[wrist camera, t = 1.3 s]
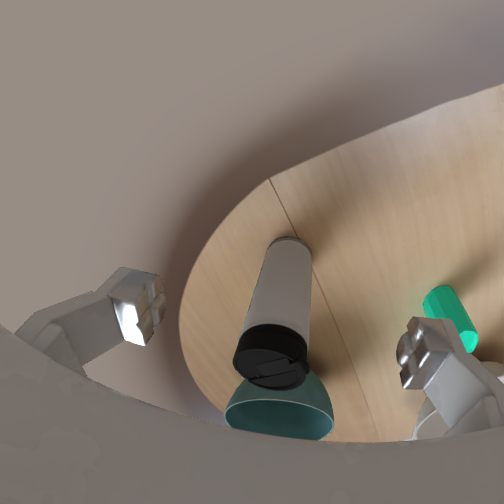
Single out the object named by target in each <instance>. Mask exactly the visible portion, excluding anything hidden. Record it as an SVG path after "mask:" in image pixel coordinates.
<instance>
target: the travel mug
mask: <svg viewBox="0 0 504 504" xmlns="http://www.w3.org/2000/svg"><path fill="white" fill-rule="evenodd" d="M311 284H312V254H311V251H310V249H309V247H308V246H307V245H306V244H305V243H304V242H303V241H301V240H299V239H297V238H293V237H283V238H280V239H277V240H275V241H274V242H273V243H272V244H271V245H270V246H269V248H268V250H267V252H266V256H265V259H264V262H263V265H262V268H261V272H260V275H259V278H258V281H257V284H256V287H255V291H254V294H253V297H252V300H251V303H250V306H249V309H248V312H247V316H246V319H245V322H244V325H243V328H242V331H241V335H240V337H239V342H238V346H237V349H236V352H235V355H234V358H233V365H234V368H235V370H237V371H238V372H239V373H240V375H242V376H243V377H244V378H246V379H248V382H249V383H251V384H253V385H254V386H257V387H259V388H262V389H266V390H272V391H288V390H293V389H295V388H298V387H299V386H301V385H302V384H303V383H304V381H305V379H306V375H307V374H309V372H310V365H309V363H308V362H307V354H308V348H309V332H310V312H311Z"/></svg>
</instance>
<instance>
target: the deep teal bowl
mask: <svg viewBox="0 0 504 504" xmlns="http://www.w3.org/2000/svg"><path fill="white" fill-rule="evenodd" d="M224 418H225V421H226V423H227V424H228V425H229V426H230V427H231V428H236V429H240V430H245V431H251V432H256V433H262V434H268V435H274V436H281V437H289V438H297V439H306V440H321V439H323V438H325V437H326V436H328V435H329V434H330V433H331V432H332V430H333V428H334V415H333V409H332V405H331V401H330V398H329V396H328V393H327V391H326V389H325V387H324V385H323V384H322V382H321V381H320V379H319V378H318V377H317V376H316V374H315V373H314V372H313V371H312V370H311V369H310V372H309V374H307V375H306V379H305V381H304V383H303V384H302V385H301V386H299V387H298V388H295V389H293V390H288V391H272V390H266V389H262V388H259V387H257V386H254V385H253V384H251V383H249V382H248V379H245V380H244V381H243V382H242V383H241V384H240V385H239V387H238V388H237V389H236V391H235V392H234V394H233V396H232V397H231V399H230V401H229V403H228V405H227V407H226V410H225V413H224Z"/></svg>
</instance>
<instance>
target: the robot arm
mask: <svg viewBox="0 0 504 504" xmlns="http://www.w3.org/2000/svg"><path fill="white" fill-rule="evenodd" d="M163 287H164V283H163V278H162V277H161V276H160V275H156V274H151V273H148V272H143V271H139V270H134V269H131V268H126V267H120V268H119V269H118V270H117V271H115V272H114V274H113V275H111V276H110V277H109V279H107V280H106V281H105V282H104V283H103V284H102V285H101V286H100V287H99V288H98V289H97V290H96V291H95V292H92V291H90V292H88V293H85V294H82V295H79V296H77V297H74V298H71V299H69V300H66V301H63V302H61V303H58V304H55V305H52V306H50V307H48V308H45V309H42V310H39V311H37V312H35V313H34V314H33V315H32V316H31V317H30V318H29V319H28V320H27V321H26V322H25V323H24V324H23V325H22V326H21V327H20V328H19V329H18V330H17V331H16V332H15V333H14V334H13V333H11V332H10V331H9V330H7V329H6V328H4V327H3V326H2V325H0V504H504V384H503V383H502V382H501V381H500V380H499V379H498V378H497V377H496V376H495V375H494V374H493V373H492V372H491V371H490V370H489V369H488V368H486V367H485V366H484V365H483V364H482V363H481V362H480V361H479V360H478V359H477V358H476V357H474V356H473V355H472V354H471V353H467V351H466V349H465V347H464V344H463V342H462V340H461V338H460V335H459V333H458V331H457V329H456V327H455V325H454V323H453V321H452V320H450V319H442V318H438V319H435V318H424V317H414V316H413V317H412V318H411V319H410V321H409V323H408V325H407V328H408V332H406V333H405V334H403V335H402V336H401V338H400V340H399V342H398V346H397V350H396V357H397V363H398V364H399V365H400V366H401V367H402V370H401V372H400V377H401V382H402V388H403V389H418V390H424V392H425V393H426V395H427V396H428V398H429V399H430V400H431V402H432V403H433V405H434V406H435V407H436V409H437V410H438V412H439V413H440V415H441V416H442V417H443V419H444V420H445V422H446V423H447V425H448V426H449V428H450V429H449V430H448V431H447V432H446V433H445V434H443V435H442V436H441V437H439V438H432V439H423V440H412V441H398V442H332V441H318V440H306V439H297V438H289V437H281V436H274V435H268V434H262V433H256V432H251V431H245V430H240V429H236V428H231V427H227V426H221V425H218V424H214V423H210V422H206V421H202V420H199V419H195V418H192V417H188V416H184V415H181V414H178V413H175V412H172V411H169V410H166V409H163V408H160V407H157V406H154V405H151V404H149V403H146V402H143V401H141V400H138V399H135V398H133V397H130V396H128V395H125V394H123V393H120V392H118V391H116V390H113V389H111V388H109V387H107V386H105V385H102V384H100V383H98V382H96V381H94V380H92V379H90V378H88V377H87V375H86V373H85V371H84V370H83V368H82V366H83V365H84V364H86V363H88V362H89V361H91V360H93V359H94V358H96V357H98V356H99V355H101V354H103V353H104V352H106V351H108V350H109V349H111V348H113V347H114V346H116V345H118V344H119V343H121V342H123V340H126V341H130V342H132V343H136V344H139V345H143V346H146V344H147V343H148V341H149V340H150V338H151V337H152V335H153V333H154V331H153V327H154V326H156V325H158V324H160V323H161V321H162V319H163V317H164V314H165V311H166V299H165V296H164V295H163V293H162V292H161V290H162V289H163Z"/></svg>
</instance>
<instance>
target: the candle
mask: <svg viewBox="0 0 504 504" xmlns="http://www.w3.org/2000/svg"><path fill="white" fill-rule="evenodd" d="M423 306H424V311H425V313H426V316H427V318H435V319H438V318H442V319H450V320H452V321H453V323H454V325H455V327H456V329H457V331H458V333H459V335H460V338H461V340H462V342H463V344H464V347H465V349H466V351H467V353H471V352H473V351H474V349H475V347H476V346H477V344H478V333H477V331H476V329H475V327H474V326H473V324H472V322H471V320H470V318H469V316H468V314H467V312H466V311H465V309H464V307H463V305H462V304H461V302H460V300H459V298H458V297H457V295H456V293H455V292H454V290H453V289H452V288H450V287H449V286H439V287H437V288H435V289H433V290H432V291H431V292H430V293H429V294H428V295H427V296H426V298H425V301H424V304H423Z"/></svg>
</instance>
